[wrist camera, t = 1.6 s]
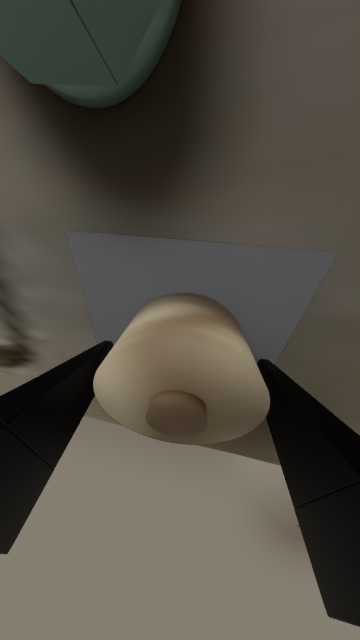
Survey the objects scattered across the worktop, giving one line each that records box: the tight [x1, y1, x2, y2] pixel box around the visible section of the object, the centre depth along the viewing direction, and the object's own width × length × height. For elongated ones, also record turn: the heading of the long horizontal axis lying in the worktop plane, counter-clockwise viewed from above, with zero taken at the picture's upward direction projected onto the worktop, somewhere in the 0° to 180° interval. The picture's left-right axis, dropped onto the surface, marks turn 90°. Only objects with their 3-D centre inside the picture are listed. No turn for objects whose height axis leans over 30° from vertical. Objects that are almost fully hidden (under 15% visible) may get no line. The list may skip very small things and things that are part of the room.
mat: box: [65, 230, 338, 365], centre depth 10 cm, size 12×12×1 cm
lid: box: [93, 293, 270, 445], centre depth 8 cm, size 7×7×5 cm
